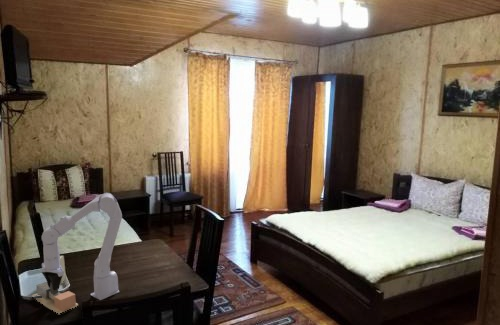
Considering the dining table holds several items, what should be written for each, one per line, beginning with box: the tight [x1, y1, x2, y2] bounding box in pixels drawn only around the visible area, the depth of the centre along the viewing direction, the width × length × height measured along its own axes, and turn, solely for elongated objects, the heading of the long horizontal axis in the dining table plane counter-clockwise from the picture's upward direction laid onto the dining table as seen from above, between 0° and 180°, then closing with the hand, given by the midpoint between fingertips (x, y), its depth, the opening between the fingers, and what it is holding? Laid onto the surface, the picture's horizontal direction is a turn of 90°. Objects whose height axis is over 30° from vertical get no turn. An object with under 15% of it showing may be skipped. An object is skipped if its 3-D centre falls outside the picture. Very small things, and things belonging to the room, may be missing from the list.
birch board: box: [31, 293, 79, 315], centre depth 158 cm, size 8×23×1 cm, turn 54°
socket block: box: [54, 290, 77, 311], centre depth 152 cm, size 6×5×5 cm
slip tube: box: [47, 282, 62, 300], centre depth 158 cm, size 2×15×7 cm, turn 53°
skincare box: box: [60, 255, 67, 285], centre depth 175 cm, size 6×4×12 cm
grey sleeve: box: [36, 281, 50, 300], centre depth 161 cm, size 4×8×4 cm, turn 54°
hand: (54, 288), depth 157 cm, fingers open, 3 cm apart
